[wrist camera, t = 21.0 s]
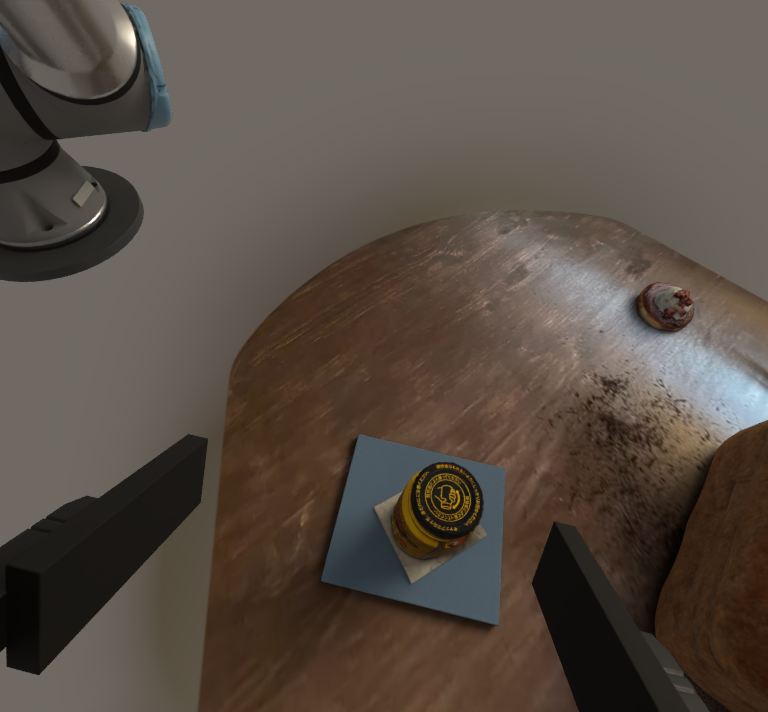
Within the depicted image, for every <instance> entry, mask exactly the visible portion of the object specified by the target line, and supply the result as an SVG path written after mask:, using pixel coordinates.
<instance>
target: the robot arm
mask: <svg viewBox="0 0 768 712" xmlns="http://www.w3.org/2000/svg"><path fill="white" fill-rule="evenodd" d="M171 120H172V109H171V104H170V99H169V95H168V91H167V88H166V86H165V80H164V75H163V71H162V67H161V64H160V60H159V56H158V53H157V50H156V46H155V43H154V40H153V37H152V34H151V31H150V28H149V25H148V22H147V19H146V18H145V16H144V14H143V12H142V11H141V10H140V9H139V8H138V7H136V6H133V5H127V4H125V3H119V2H118V0H0V247H3V248H6V249H9V250H14V251H22V252H37V251H46V250H51V249H56V248H60V247H63V246H66V245H69V244H72V243H74V242H77V241H79V240H81V239H83V238H84V237H86V236H88V235H89V234H91V233H92V232H94V231H95V230H96V229H97V228H98V227H99V226H100V225H101V224H102V223H103V222H104V221H105V219H106V218H107V216H108V214H109V211H110V201H109V198H108V196H107V194H106V193H105V191H104V189H103V188H102V186H101V185H100V184H99V183H98V182H97V180H96V179H95V178H94V177H92V176H91V175H90V174H89V173H88V172H87V171H86V170H85V169H84V168H83V167H82V166H80V165H79V164H78V163H77V162H76V161H75V160H74V159H73V158H72V157H71V156H70V155H68V154H67V153H66V152H65V151H64V150H63V149H62V148H61V146H60V145H59V144H58V142H57V140H56V139H64V138H74V137H83V136H93V135H102V134H112V133H122V132H131V131H143V132H148V131H150V130H151V129H154V128H161V127H165V126H167V125H169V124H170V122H171ZM207 443H208V439H207V438H203V437H198V436H194V435H190V434H188V435H187V436H185V437H184V438H182V439H181V440H180V441H178V442H177V443H175V444H174V445H173V446H171V447H170V448H168V449H167V450H166V451H164V452H163V453H161V454H160V455H159V456H157V457H156V458H154V459H153V460H152V461H150V462H149V463H147V464H146V465H144V466H143V467H142V468H140V469H139V470H137V471H136V472H135V473H133V474H132V475H130V476H129V477H128V478H126V479H125V480H123V481H122V482H121V483H119V484H118V485H117V486H115V487H114V488H112V489H111V490H109V491H108V492H107V493H105V494H104V495H103V496H101V497H100V498H94V497H90V496H85V497H82V498H80V499H77V500H75V501H72V502H70V503H67V504H65V505H63V506H62V507H60V508H59V509H57V510H56V511H54V512H53V513H51V514H49V515H48V516H47V517H46V519H42V520H40V521H39V522H37V523H36V524H34V525H33V526H32V527H31V529H27V530H25V531H24V532H22V533H21V534H19V535H18V536H16V537H15V538H13V539H12V540H10V541H9V542H7V543H6V544H4V545H3V546H1V547H0V652H1V651H2V650H3V649H4V648H5V647H6V649H7V650H6V651H7V652H6V654H7V667H10V668H14V669H17V670H21V671H25V672H29V673H32V674H36V675H40V673H41V672H42V671H43V670H44V669H45V668H46V667H47V666H48V665H49V664H50V663H51V662H52V661H53V660H54V659H55V657H56V656H57V655H58V654H59V653H60V652H61V651H62V650H63V649H64V648H65V647H66V646H67V645H68V644H69V642H70V641H71V640H72V639H73V638H74V637H75V636H76V635H77V634H78V633H79V632H80V631H81V629H83V628H84V626H85V625H86V624H87V623H88V622H89V621H90V620H91V619H92V618H93V617H94V616H95V615H96V614H97V613H98V612H99V610H100V609H101V608H102V607H103V606H104V605H105V604H106V603H107V602H108V601H109V600H110V599H111V598H112V597H113V595H114V594H115V593H116V592H117V591H118V590H119V589H120V588H121V587H122V586H123V585H124V584H125V583H126V582H127V580H128V579H129V578H130V577H131V576H132V575H133V574H134V573H135V572H136V571H137V570H138V569H139V568H140V566H142V565H143V563H144V562H145V561H146V560H147V559H148V558H149V557H150V556H151V555H152V554H153V553H154V552H155V551H156V550H157V548H158V547H159V546H160V545H161V544H162V543H163V542H164V541H165V540H166V539H167V538H168V537H169V535H171V533H172V532H173V531H174V530H175V529H176V528H177V527H178V526H179V525H180V524H181V523H182V522H183V520H185V519H186V517H187V516H188V515H189V514H190V513H191V512H192V511H193V510H194V509H195V508H196V507H197V506H198V505H199V504H200V502H201V494H202V485H203V477H204V469H205V460H206V451H207ZM532 586H533V588H534V591H535V594H536V596H537V599H538V602H539V605H540V607H541V610H542V613H543V615H544V618H545V621H546V623H547V626H548V629H549V632H550V634H551V637H552V640H553V642H554V645H555V648H556V650H557V653H558V656H559V659H560V661H561V664H562V667H563V669H564V672H565V675H566V677H567V680H568V683H569V686H570V688H571V691H572V694H573V696H574V699H575V702H576V705H577V707H578V710H579V712H710V711H709V710H708V708H707V707H706V705H705V704H704V702H703V701H702V699H701V698H700V696H698V695H697V694H696V690H695V689H694V687H693V686H692V684H691V683H690V681H689V680H688V678H685V676H684V672H683V671H682V669H681V668H680V666H679V665H678V663H677V662H676V660H675V659H674V657H673V656H672V654H671V653H670V652H669V651H668V650H667V649H666V648H665V647H664V646H663V645H662V644H661V643H660V642H659V641H658V640H657V639H656V638H655V637H654V636H653V635H652V634H651V633H647V632H643V631H640V630H639V628H638V627H637V625H636V624H635V622H634V620H633V619H632V617H631V616H630V614H629V612H628V611H627V609H626V608H625V606H624V604H623V603H622V601H621V600H620V598H619V596H618V595H617V593H616V592H615V590H614V588H613V587H612V585H611V584H610V582H609V580H608V579H607V577H606V575H605V574H604V572H603V571H602V569H601V567H600V566H599V564H598V563H597V561H596V559H595V558H594V556H593V555H592V553H591V551H590V550H589V548H588V547H587V545H586V543H585V542H584V540H583V539H582V537H581V535H580V534H579V532H578V531H577V529H576V527H575V526H571V525H567V524H563V523H558V522H554V523H553V526H552V529H551V531H550V534H549V537H548V540H547V543H546V545H545V548H544V551H543V554H542V556H541V559H540V562H539V565H538V568H537V570H536V573H535V576H534V579H533V581H532Z"/></svg>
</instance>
